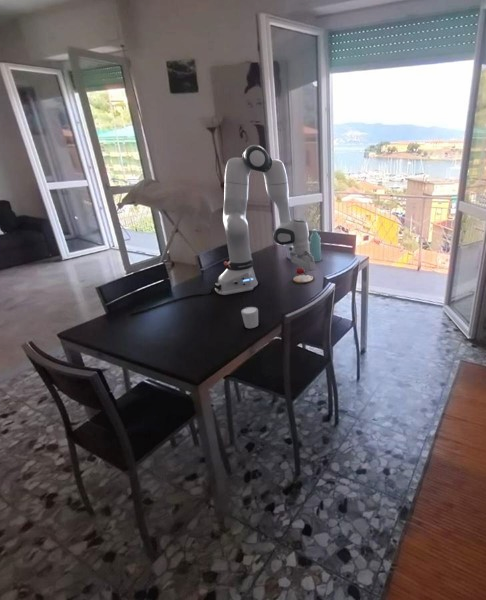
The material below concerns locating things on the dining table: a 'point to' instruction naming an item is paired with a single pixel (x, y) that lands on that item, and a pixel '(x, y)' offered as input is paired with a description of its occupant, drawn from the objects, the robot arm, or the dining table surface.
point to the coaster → (303, 279)
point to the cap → (300, 271)
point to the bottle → (315, 245)
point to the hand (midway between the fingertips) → (303, 273)
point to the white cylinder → (250, 317)
